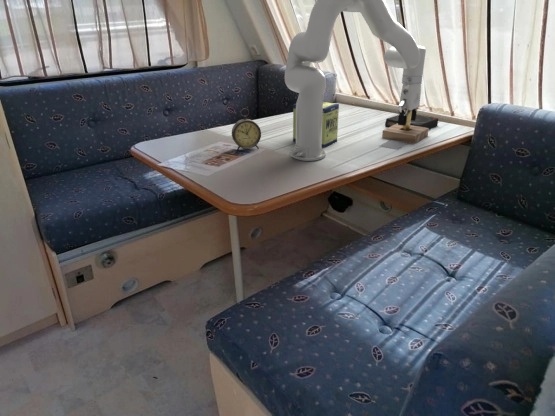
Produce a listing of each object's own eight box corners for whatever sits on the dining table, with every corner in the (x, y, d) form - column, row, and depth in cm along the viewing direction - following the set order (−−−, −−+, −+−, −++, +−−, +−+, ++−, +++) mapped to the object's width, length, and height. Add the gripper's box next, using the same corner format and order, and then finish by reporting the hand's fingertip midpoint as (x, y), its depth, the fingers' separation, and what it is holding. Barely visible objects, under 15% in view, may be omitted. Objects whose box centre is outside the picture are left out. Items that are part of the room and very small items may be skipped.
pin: (406, 138, 170) (410, 109, 164) (399, 137, 171) (403, 108, 166) (409, 137, 172) (413, 108, 166) (402, 136, 173) (406, 107, 168)
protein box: (324, 148, 161) (326, 108, 154) (292, 141, 169) (292, 104, 162) (338, 141, 168) (339, 103, 161) (306, 136, 177) (306, 99, 170)
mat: (397, 150, 156) (397, 149, 156) (378, 146, 161) (378, 146, 161) (408, 144, 163) (408, 143, 163) (389, 140, 168) (389, 140, 168)
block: (414, 144, 163) (415, 135, 161) (381, 138, 171) (382, 130, 169) (427, 136, 172) (428, 128, 171) (396, 131, 180) (397, 123, 179)
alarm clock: (234, 153, 158) (231, 110, 150) (232, 148, 162) (229, 107, 155) (262, 150, 160) (260, 108, 153) (258, 146, 165) (257, 105, 158)
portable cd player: (384, 127, 188) (385, 119, 186) (405, 120, 198) (406, 112, 196) (416, 134, 176) (417, 125, 175) (437, 127, 187) (438, 118, 185)
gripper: (412, 83, 153) (406, 128, 161) (429, 77, 165) (423, 119, 173) (393, 81, 157) (388, 125, 165) (411, 76, 169) (406, 117, 177)
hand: (406, 122), depth 169 cm, fingers open, 9 cm apart
